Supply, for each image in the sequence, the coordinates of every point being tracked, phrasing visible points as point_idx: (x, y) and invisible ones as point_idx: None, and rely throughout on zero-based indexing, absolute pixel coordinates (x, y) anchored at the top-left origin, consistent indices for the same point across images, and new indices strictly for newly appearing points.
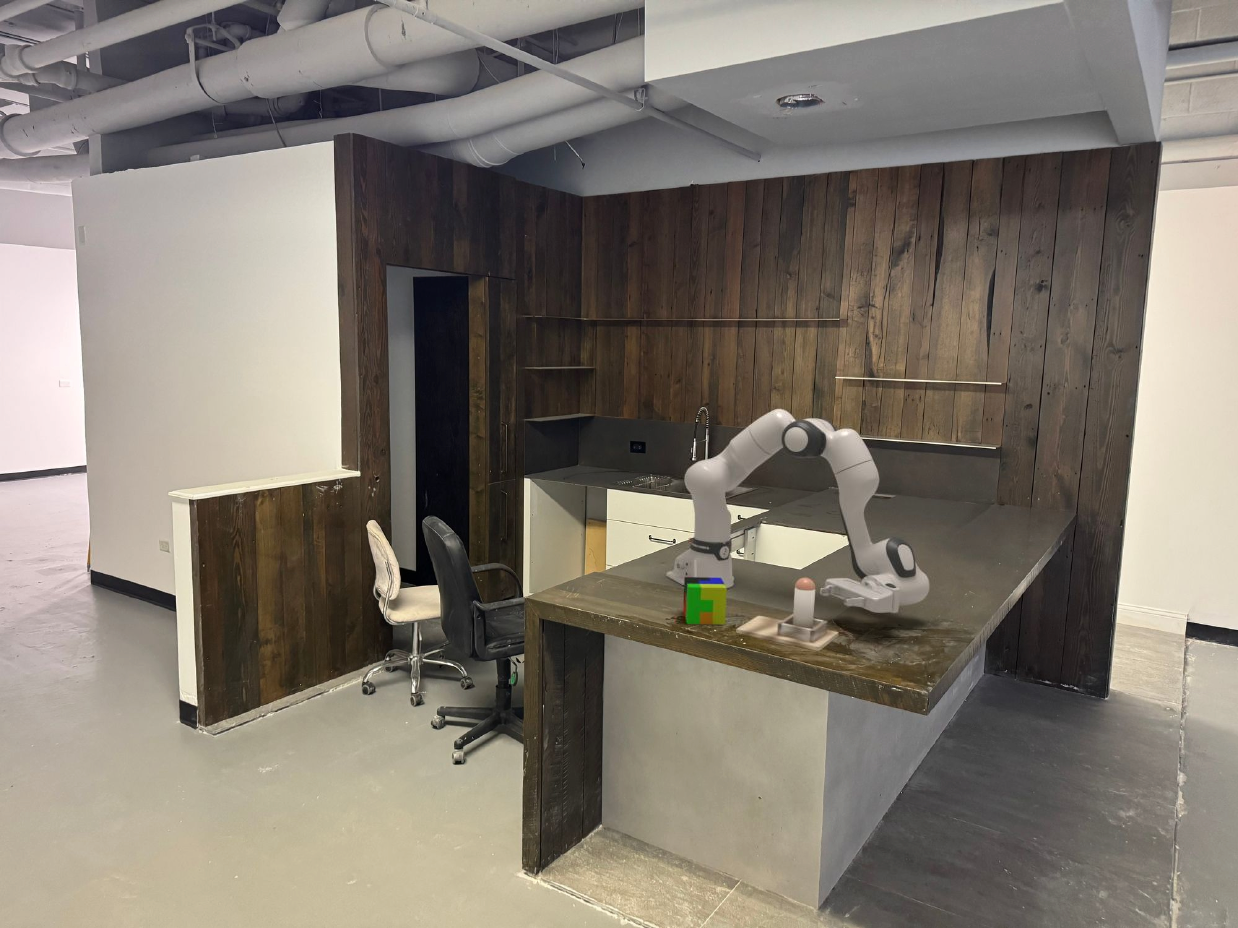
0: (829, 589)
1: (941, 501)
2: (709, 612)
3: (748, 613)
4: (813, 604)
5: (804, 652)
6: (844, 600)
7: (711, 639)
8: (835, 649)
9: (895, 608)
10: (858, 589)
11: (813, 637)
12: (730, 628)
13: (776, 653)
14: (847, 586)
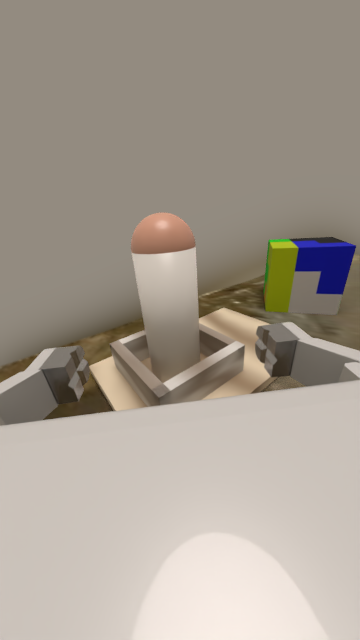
0: (337, 374)
1: None
2: (266, 284)
3: (356, 343)
4: (142, 302)
5: (104, 353)
6: (79, 353)
7: (201, 297)
8: (72, 408)
9: None
10: (80, 505)
11: (113, 356)
12: (245, 312)
13: (125, 327)
14: (269, 426)
